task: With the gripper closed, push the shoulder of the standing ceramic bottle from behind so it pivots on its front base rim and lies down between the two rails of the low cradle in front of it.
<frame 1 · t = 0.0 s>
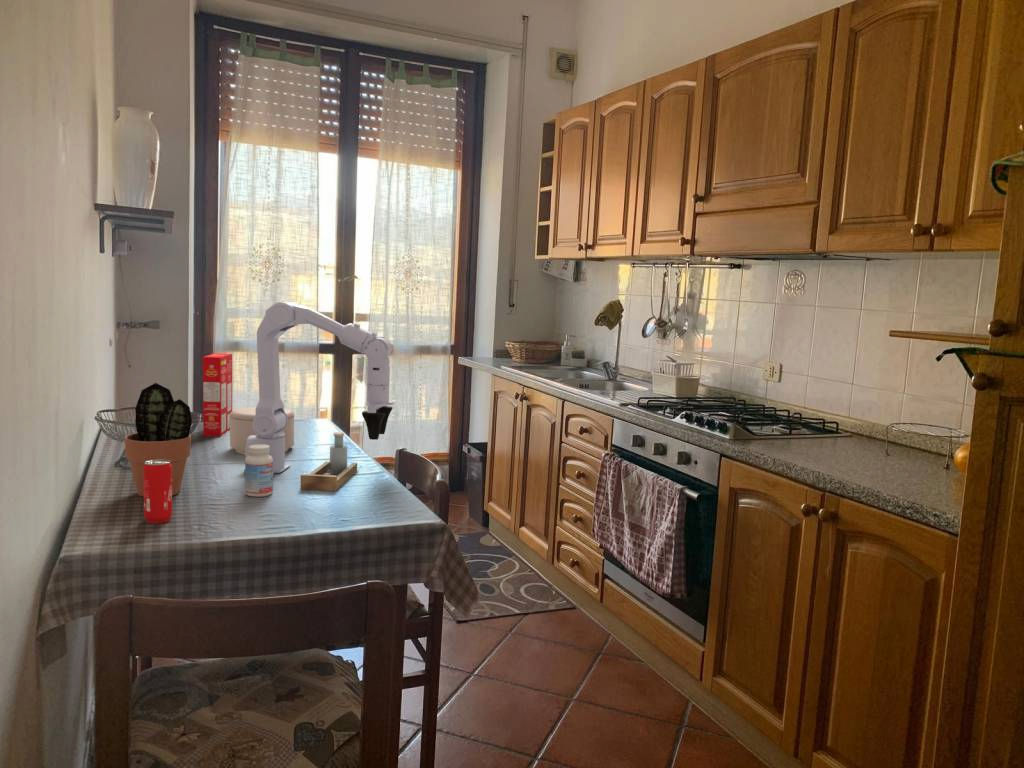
hand: (377, 436, 199), 10 cm above the table, fingers open, 7 cm apart
cradle: (330, 479, 194), on the table
container: (262, 450, 226), on the table
food packaging: (218, 432, 250), on the table
potted plant: (159, 493, 175), on the table
beverage can: (158, 521, 155), on the table
pill bottle: (259, 495, 178), on the table
bottle: (338, 473, 201), on the table
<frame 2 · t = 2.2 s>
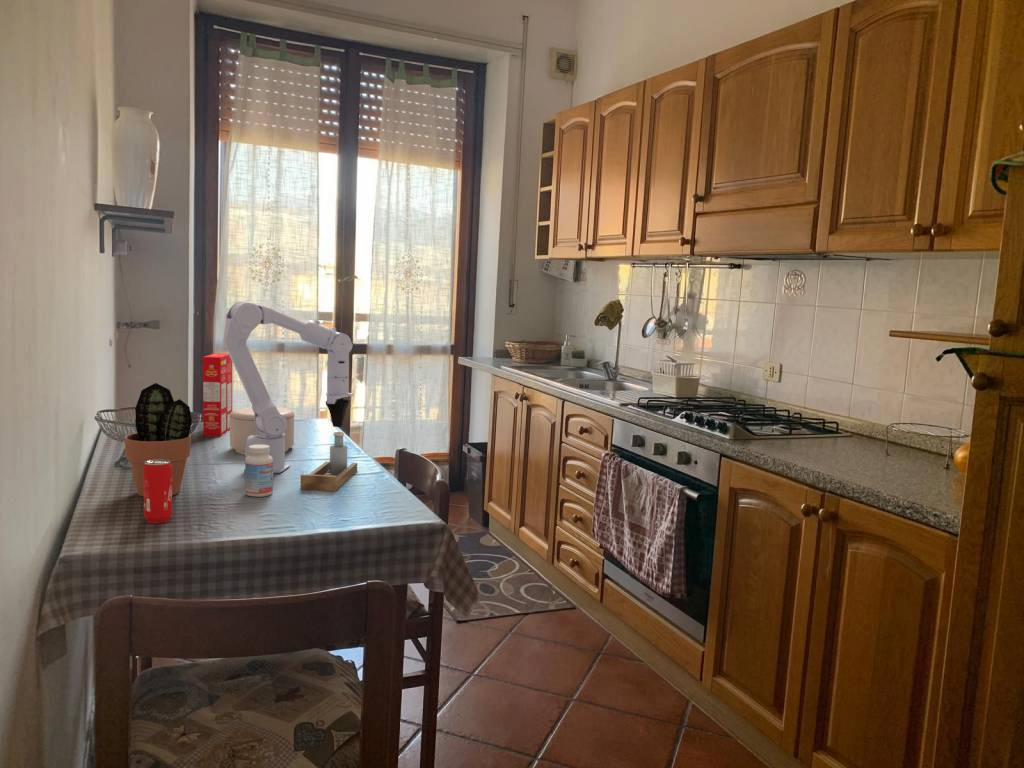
hand: (337, 426, 210), 10 cm above the table, fingers closed
nothing on the table moved.
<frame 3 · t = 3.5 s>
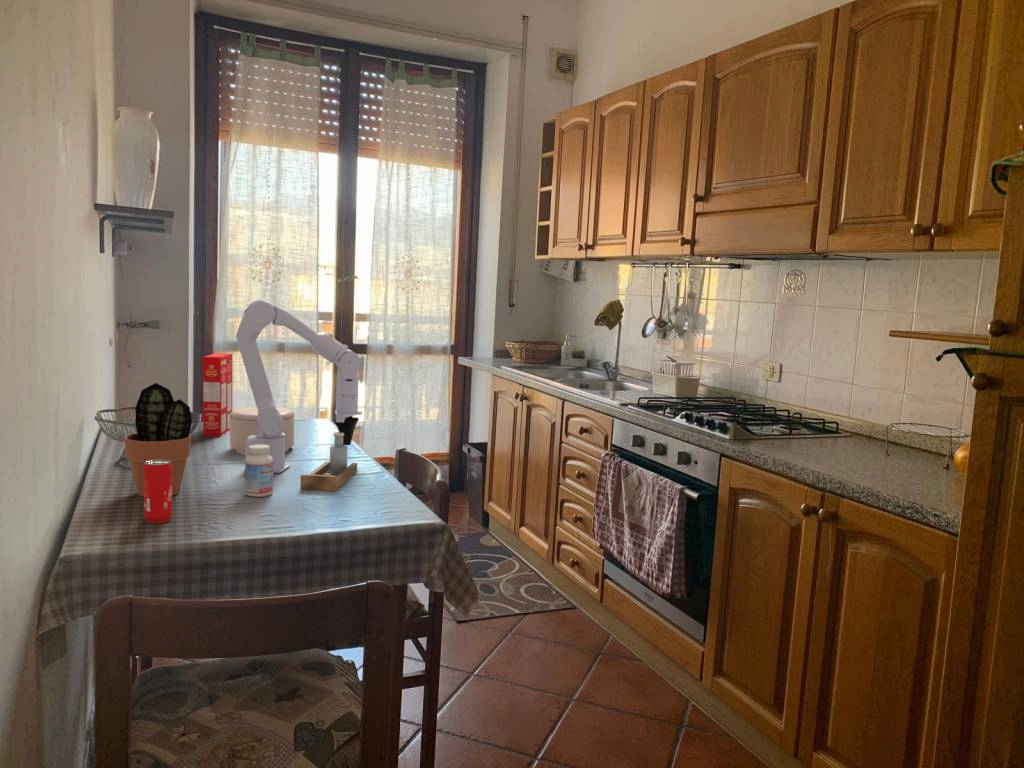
hand: (346, 444, 208), 6 cm above the table, fingers closed
nothing on the table moved.
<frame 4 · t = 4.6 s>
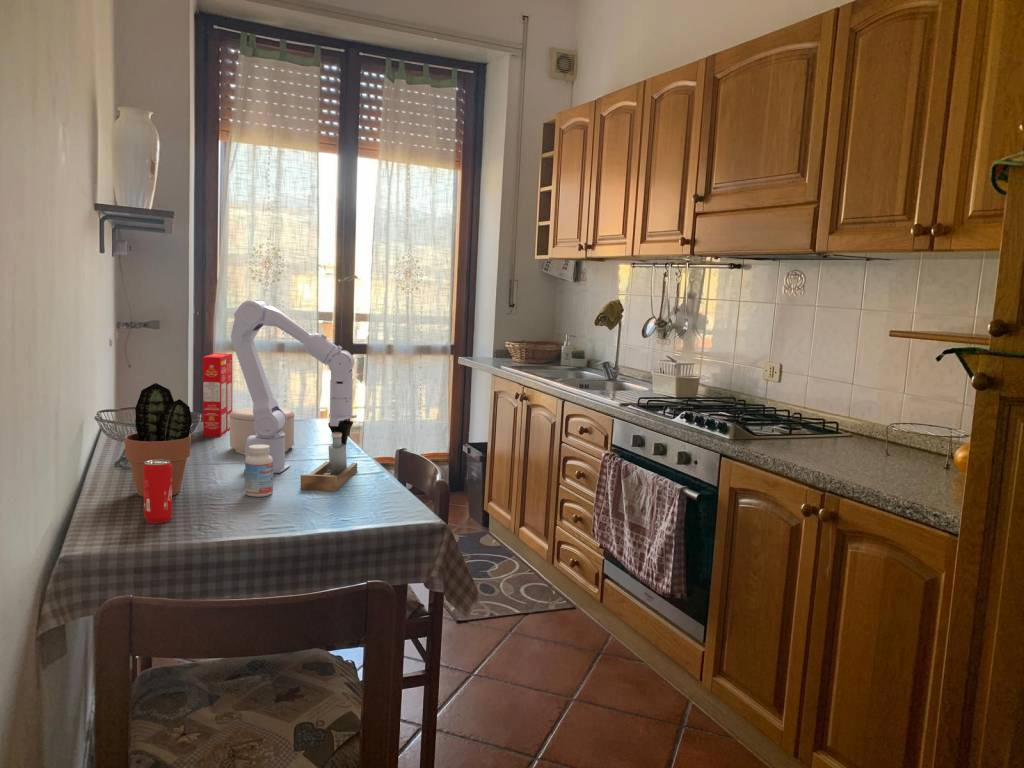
hand: (340, 449, 202), 6 cm above the table, fingers closed
bottle: (338, 471, 201), on the table, tilted 13°
everything else where it was.
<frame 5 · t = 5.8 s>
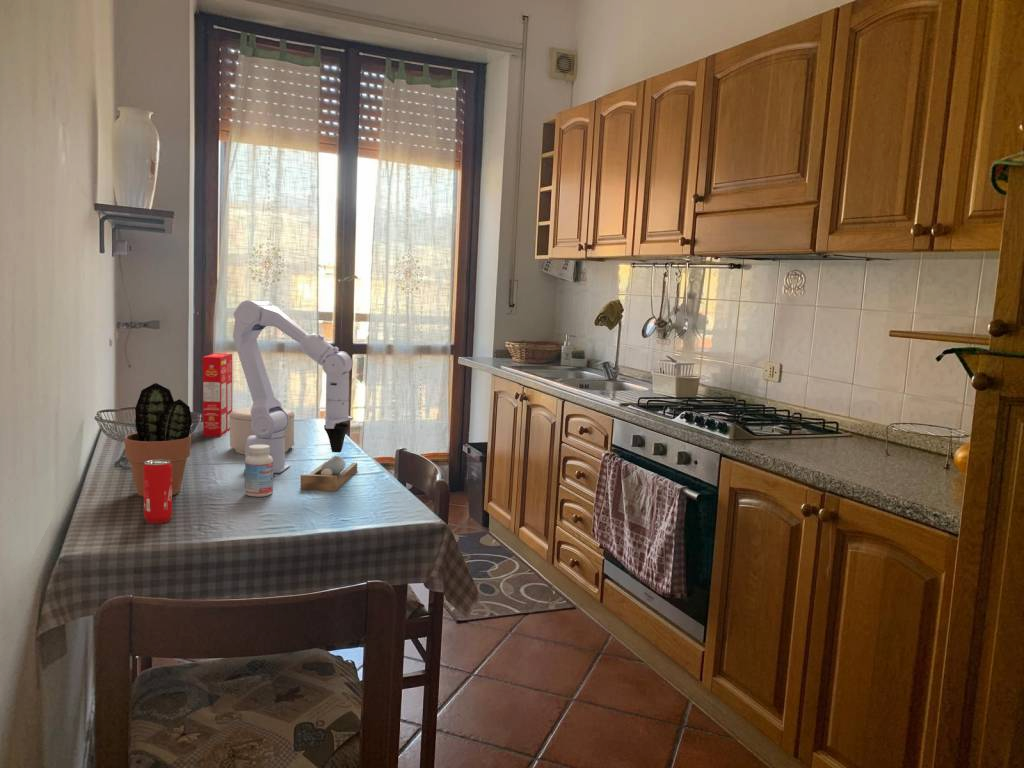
hand: (336, 451, 198), 6 cm above the table, fingers closed
bottle: (336, 464, 198), point 3 cm above the table, tilted 91°, touching cradle
everything else where it was.
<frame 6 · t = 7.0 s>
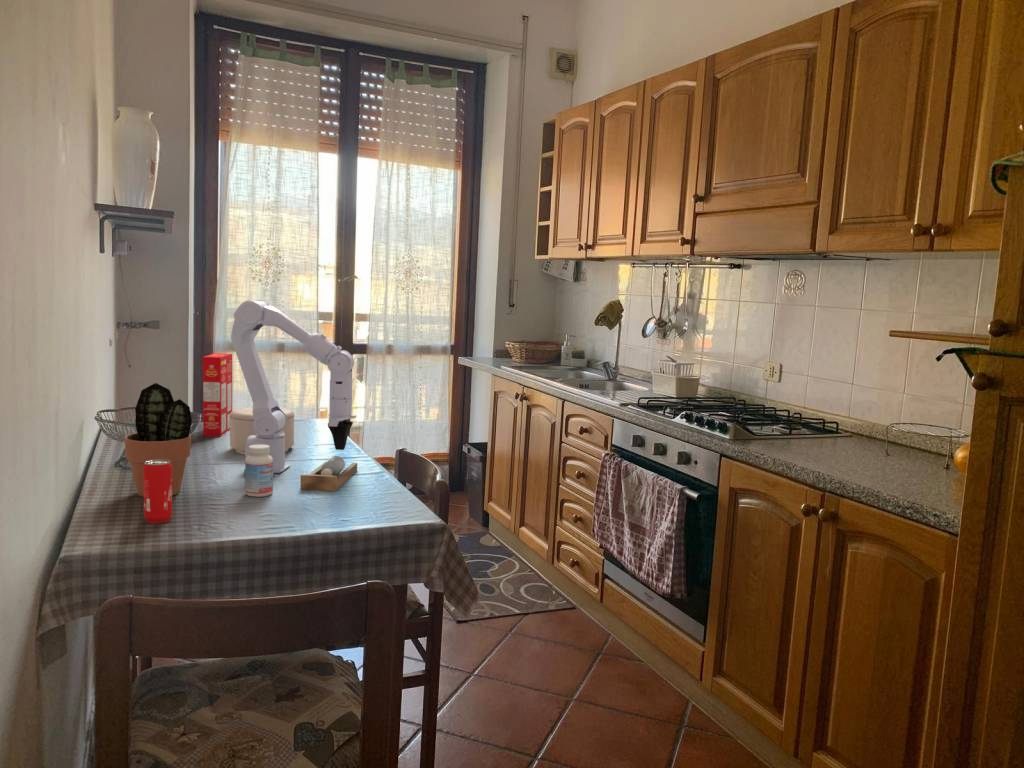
hand: (340, 449, 201), 6 cm above the table, fingers closed
nothing on the table moved.
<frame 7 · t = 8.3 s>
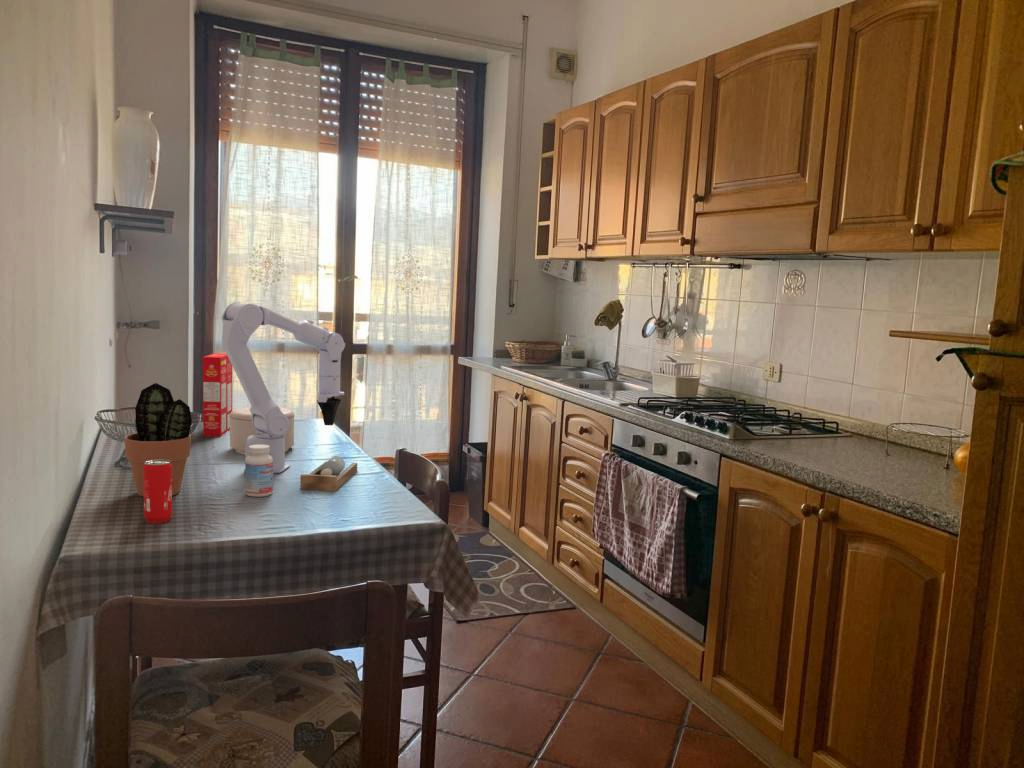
hand: (328, 424, 212), 10 cm above the table, fingers closed
nothing on the table moved.
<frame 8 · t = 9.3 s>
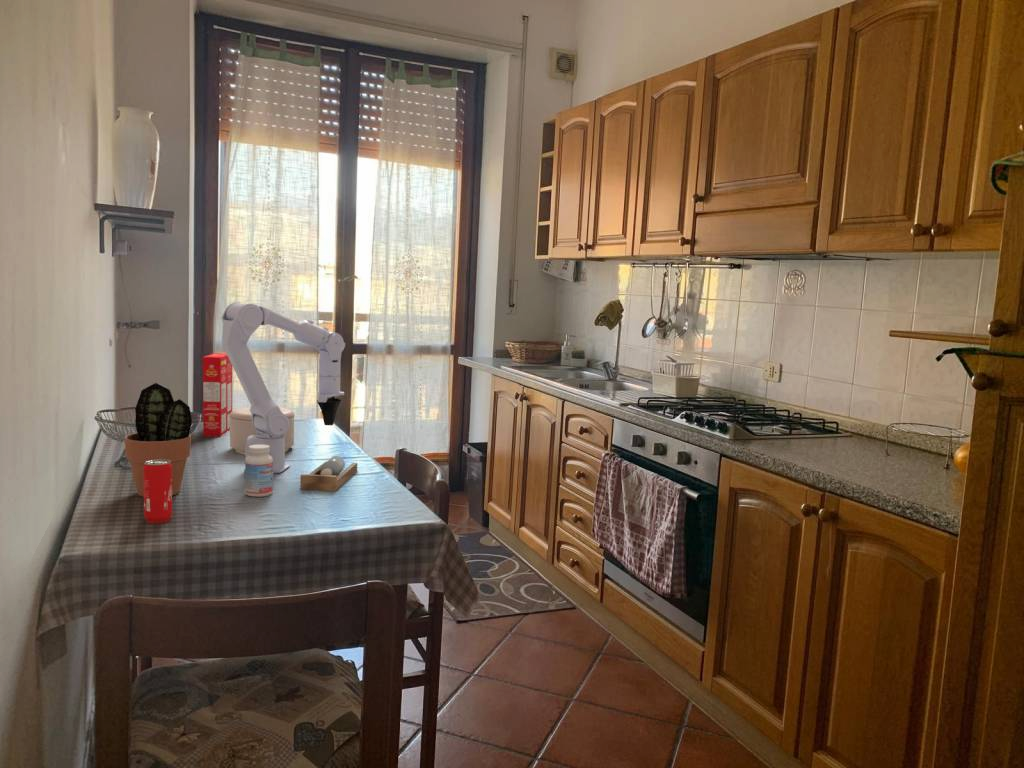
hand: (328, 424, 212), 10 cm above the table, fingers closed
nothing on the table moved.
at the end: bottle tilted 91°; bottle inside the target area (5.9 cm from its centre), point 2.7 cm above the table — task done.
